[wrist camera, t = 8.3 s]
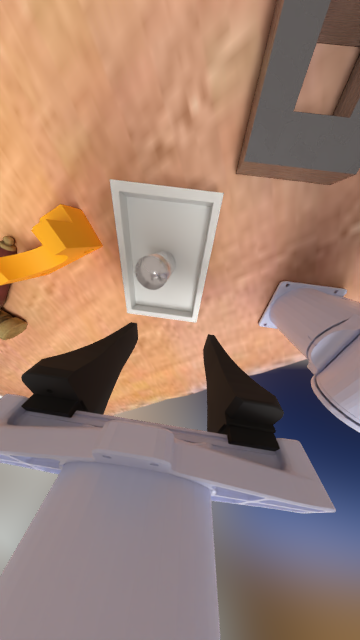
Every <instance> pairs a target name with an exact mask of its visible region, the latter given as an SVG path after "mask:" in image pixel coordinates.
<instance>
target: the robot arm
mask: <svg viewBox="0 0 360 640" xmlns="http://www.w3.org/2000/svg"><path fill="white" fill-rule="evenodd" d="M286 284H288V285H287V286H286ZM335 290H336V291H335ZM334 291H335V292H334ZM346 292H347V290H346V289H343V288H335V287H328V286H320V285H312V284H305V283H297V282H289V281H282V282H280V284H279V285H278V287H277V289H276V291H275V293H274V295H273V297H272V299H271V301H270V302H269V304H268V306H267V308H266V310H265V312H264V314H263V316H262V318H261V319H260V321H259V326H262V327H269V328H276V329H279V330H280V331H281V332H282V333H283V334H284V335H285V336H286V338H287V339H288V340H289V341H290V342H291V343H292V344H293V345H294V346H295V347H296V348H297V349H298V350H299V351H300V352H301V353H302V354H303V355H304V356H305V357H306V358H307V359H308V360H309V364H308V365H307V367H308V368H309V369H310V371H311V372H312V373H313V374H314V376H313V377H312V379H311V386H312V389H313V391H314V393H315V394H316V396H317V397H318V399H319V400H320V401H321V402H322V403H323V404H324V406H325V407H326V408H327V409H328V410H329V411H330V412H332V413H333V414H334V415H335V416H336V417H337V418H339V419H340V420H342V421H343V422H344V423H346V424H347V425H349V426H350V427H351V428H353V429H355V430H356V431H358V432H360V303H359V302H356V301H353V300H350V299H348V298H345V297H343V296H344V295H345V294H346ZM265 323H266V324H265ZM264 324H265V325H264ZM137 340H138V330H137V323H132V322H131V323H129V324H128V325H126V326H124V327H123V328H121V329H119V330H118V331H116V332H114V333H113V334H111V335H109V336H107V337H105V338H104V339H101V340H99V341H97V342H95V343H93V344H90V345H88V346H85V347H83V348H80V349H77V350H74V351H71V352H68V353H65V354H61V355H57V356H53V357H49V358H45V359H42V360H41V361H39V362H38V363H37V364H35V365H34V366H33V367H32V368H30V369H29V370H28V371H26V372H25V373H24V374H23V375H22V381H23V383H24V384H25V385H26V386H27V387H28V388H29V389H30V390H31V391H32V392H33V393H34V394H33V395H32V396H31V397H30V398H27V397H25V396H20V395H14V394H6V395H4V396H3V397H2V398H1V399H0V463H5V464H10V465H15V466H20V467H25V468H30V469H35V470H40V471H44V472H50V473H54V474H59V475H58V477H57V479H56V480H55V482H54V484H53V486H52V487H51V489H50V491H49V492H48V494H47V496H46V498H45V499H44V501H43V503H42V505H41V506H40V508H39V510H38V512H37V513H36V515H35V517H34V518H33V520H32V522H31V524H30V526H29V527H28V529H27V531H26V532H25V534H24V536H23V538H22V539H21V541H20V543H19V544H18V546H17V548H16V550H15V551H14V553H13V555H12V557H11V559H10V560H9V562H8V564H7V565H6V567H5V569H4V571H3V572H2V574H1V576H0V640H220V627H219V626H220V625H219V611H218V596H217V581H216V566H215V552H214V538H213V522H212V507H211V501H218V502H226V503H234V504H242V505H250V506H258V507H265V508H272V509H279V510H285V511H292V512H298V513H323V512H335V510H336V509H335V508H334V506H333V504H332V502H331V500H330V498H329V496H328V494H327V492H326V491H325V489H324V487H323V485H322V483H321V481H320V479H319V477H318V475H317V474H316V472H315V470H314V468H313V466H312V464H311V462H310V460H309V458H308V457H307V455H306V453H305V451H304V449H303V447H302V445H301V443H300V442H299V441H296V440H290V439H284V438H277V439H276V437H275V435H274V433H275V428H274V426H273V424H275V423H276V422H277V421H278V420H280V419H281V418H282V417H283V414H284V412H283V410H282V408H281V406H280V404H279V402H278V400H277V399H276V397H275V396H274V395H272V394H271V393H270V392H268V391H267V390H266V389H264V388H263V387H261V386H260V385H259V384H257V383H256V382H255V381H254V380H252V379H251V378H250V377H249V376H248V375H247V374H246V373H245V372H243V371H242V370H241V369H240V368H239V367H238V366H237V365H236V364H235V362H234V361H233V360H232V359H231V358H230V357H229V355H228V354H227V353H226V352H225V350H224V349H223V348H222V346H221V345H220V343H219V342H218V340H217V339H216V337H215V336H214V335H209V334H208V336H207V339H206V343H205V346H204V349H203V355H204V366H205V373H206V381H207V405H208V409H207V415H208V416H207V432H206V431H200V430H193V429H188V428H182V427H176V426H169V425H163V424H157V423H151V422H145V421H138V420H133V419H126V418H120V417H114V416H108V415H103V414H104V411H105V408H106V406H107V403H108V400H109V398H110V395H111V393H112V390H113V388H114V386H115V383H116V381H117V379H118V377H119V374H120V372H121V370H122V368H123V366H124V365H125V363H126V361H127V360H128V358H129V356H130V354H131V353H132V351H133V349H134V348H135V345H136V343H137Z"/></svg>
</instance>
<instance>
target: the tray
mask: <svg viewBox="0 0 360 640" xmlns="http://www.w3.org/2000/svg"><path fill="white" fill-rule="evenodd" d="M110 186H111V193H112V201H113V208H114V216H115V224H116V231H117V239H118V246H119V254H120V261H121V269H122V276H123V284H124V292H125V299H126V307H127V313H131V314H138V315H145V316H153V317H160V318H167V319H174V320H182V321H189V322H196V321H197V317H198V312H199V307H200V303H201V298H202V293H203V288H204V284H205V279H206V274H207V270H208V265H209V260H210V255H211V251H212V246H213V241H214V237H215V232H216V227H217V222H218V218H219V213H220V208H221V204H222V199H223V194H224V193H219V192H211V191H203V190H194V189H186V188H178V187H170V186H161V185H153V184H145V183H137V182H128V181H120V180H112V179H110ZM162 251H167V252H170V253H171V254H172V255H173V256H174V257H175V260H176V268H175V270H174V272H173V273H172V275H171V276H170V277H169V279H168V280H167V282H166V283H165V284H164V286H163V287H161V288H160V289H157V290H150V289H147V288H145V287H143V286H142V285H141V284H140V283H139V281H138V280H137V278H136V274H135V267H136V264H137V262H138V261H139V259H141V258H142V257H144V256H148V255H151V254H155V253H158V252H162Z"/></svg>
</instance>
